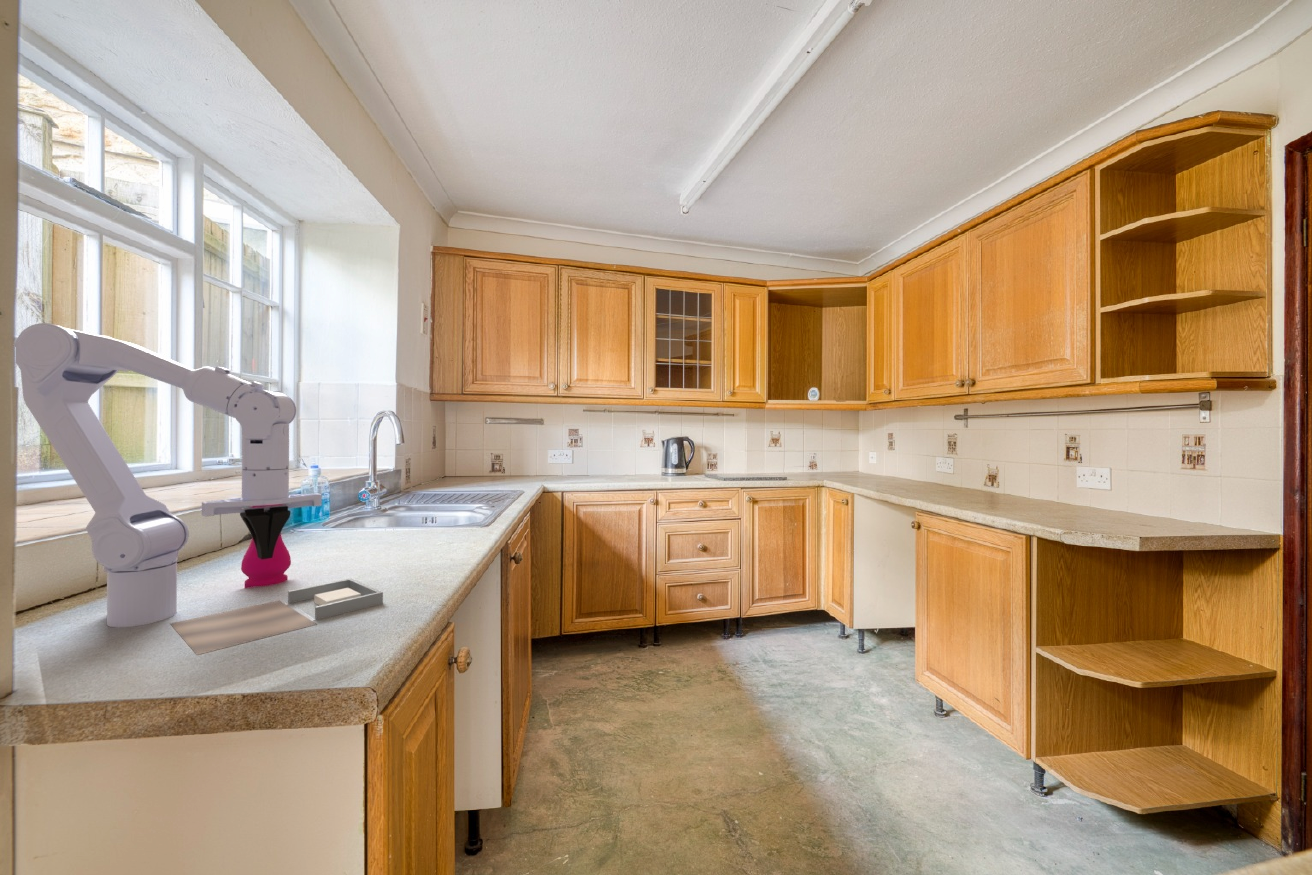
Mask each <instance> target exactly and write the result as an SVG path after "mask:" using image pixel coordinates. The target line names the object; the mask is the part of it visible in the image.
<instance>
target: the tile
mask: <svg viewBox="0 0 1312 875" xmlns="http://www.w3.org/2000/svg"><path fill="white" fill-rule="evenodd" d="M360 596H361V594H360V593H358V592H356V591H354V590H352V589H350V588H344V589H339V590H335V591H330V592H325V593H321V594H316V595H314V598H313V599H314V600H313V602H314V603H315V604H316V605H317V606H320V605H325V604H329V603H333V602H338V601H342V600H346V599H351V598H355V597H360Z"/></svg>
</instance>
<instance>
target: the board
mask: <svg viewBox="0 0 1312 875" xmlns="http://www.w3.org/2000/svg"><path fill="white" fill-rule="evenodd" d="M284 603H285V602H282V601H281V600H275V601H271V602H270V601H269V602H266V603H261V604H255V605H251V606H247V607H242V608H238V609H232V610H228V611H224V612H223V611H222V612H218V613H215V614H209V615H204V616H200V617H199V616H198V617H195V618H191V619H185V620H180V621H176V622H171V623H170V625H171V627H172V628H173V629H174V630H175V632H176V633H178V635H179V637H181V638H182V640H183V641H184V642H185V643H186V644H187V645H188V647H189V648H190V649H191V650H192V651H193V652H194V653H195V655H196V656H199V655H203V654H207V653H212V652H215V651H218V650H222V649H228V648H231V647H234V646H238V645H242V644H245V643H246V644H247V643H250V642H254V641H258V640H262V639H267V638H271V637H274V636H277V635H282V634H287V633H289V632H290V633H291V632H294V631H298V630H301V629H305V628H309V627H313V626H317V625H318V623H316V622H315V621H311V620H310V619H308V618H306V617H305V616H303V615H302V614H300V613H298V612H297V611H295V610H294V609H292V608H291V607H289V606H287V605H286V604H284Z"/></svg>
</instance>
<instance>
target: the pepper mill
mask: <svg viewBox="0 0 1312 875" xmlns="http://www.w3.org/2000/svg"><path fill="white" fill-rule="evenodd" d="M279 505H282V504H276V505H262V506H252V508H255V507H267V506H279ZM264 511H265V510H264ZM291 565H292V561H291V555H290V551H289V549H288V548H287V546H286V544H285V542H284V540H283V537H282V533H280V535H279V537H278V540H277V542H276V546H275V549H274V553H273V558H268V559H260V558H258V556H257V550H256V546H255V543H254V540H253V538H252V537H251V541H250V544H249V546H248V547H247V550H246V552H245V553H244V555H243V558H242V561H241V566H240V569H241V572H242V573H243V574H244V575H245V576H246V578H247V579H245V580H244V589H249V588H255V587H257V588H258V587H268V586H274V585H278V584H282V583H284V582H286V581H288V575H287V574H285V573H286V571H287V570H289V568H290V566H291Z"/></svg>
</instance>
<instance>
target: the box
mask: <svg viewBox="0 0 1312 875" xmlns="http://www.w3.org/2000/svg"><path fill="white" fill-rule="evenodd" d="M344 588H350V589H352V590H354V591H356V592H358V593H360V594H361V596H360V597H355V598H351V599H346V600H342V601H338V602H333V603H329V604H325V605H320V606H319V605H316V606H314V617H313V616H311V615H309V614H308V613H306V612H305V611H303V610H302V609H301V608H299V607H297V606H295V605H293V603H296V602H302V601H306V600H310V599H311V600H312V599H314V595H316V594H321V593H325V592H330V591H335V590H339V589H344ZM283 603H284V604H286V605H287V606H289V607H291V608H292V609H294V610H295V611H297V612H298V613H300V614H302V615H303V616H305V617H306V618H308V619H310V620H311V621H313V622H315V621H318V620H322V619H323V620H324V619H326V618H330V617H335V616H338V615H342V614H346V613H351V612H355V611H359V610H362V609H367V608H371V607H374V606H379V605H383V604H384V592H383V591H382V590H378V589H377V588H374V587H372V586H369V585H367V584H366V583H363V582H360V581H359V580H356V579H354V578H351V577H350V578H346V579H343V580H337V581H331V582H326V583H321V584H316V585H311V586H307V587H301V588H297V589H291V590H287V602H283Z"/></svg>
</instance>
